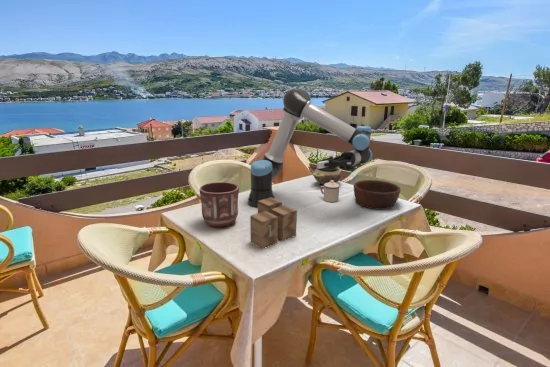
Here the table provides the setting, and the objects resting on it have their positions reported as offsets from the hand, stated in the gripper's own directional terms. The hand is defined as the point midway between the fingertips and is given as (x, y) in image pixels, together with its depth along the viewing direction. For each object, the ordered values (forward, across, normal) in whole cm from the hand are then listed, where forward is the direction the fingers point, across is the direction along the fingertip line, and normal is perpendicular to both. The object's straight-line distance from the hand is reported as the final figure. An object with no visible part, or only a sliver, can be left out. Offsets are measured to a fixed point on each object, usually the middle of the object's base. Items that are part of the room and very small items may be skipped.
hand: (318, 165), depth 146 cm
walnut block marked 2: (+20, +11, -28) cm, 36 cm away
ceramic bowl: (-49, +36, -28) cm, 67 cm away
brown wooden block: (+22, -1, -28) cm, 36 cm away
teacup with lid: (-30, +17, -28) cm, 44 cm away
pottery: (+37, +27, -28) cm, 54 cm away
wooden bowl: (-45, -4, -28) cm, 54 cm away
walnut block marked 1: (+33, -1, -28) cm, 43 cm away
